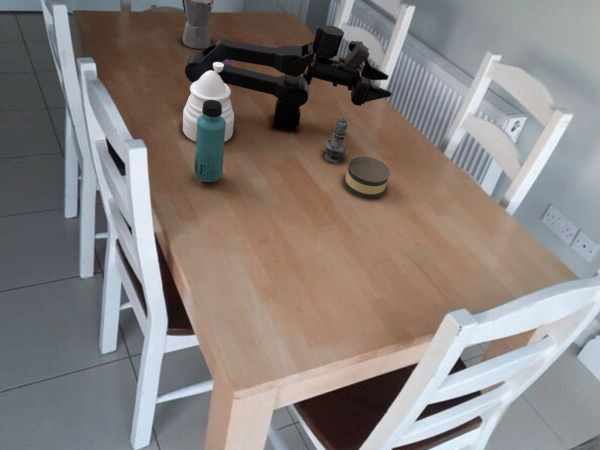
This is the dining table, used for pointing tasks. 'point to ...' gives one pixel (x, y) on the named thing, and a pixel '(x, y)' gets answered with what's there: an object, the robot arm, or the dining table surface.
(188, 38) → the coffeepot
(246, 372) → the dining table surface
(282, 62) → the robot arm
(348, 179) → the tin
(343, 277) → the dining table surface
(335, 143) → the grey stone figurine
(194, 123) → the honey pot
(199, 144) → the beverage bottle
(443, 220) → the dining table surface
